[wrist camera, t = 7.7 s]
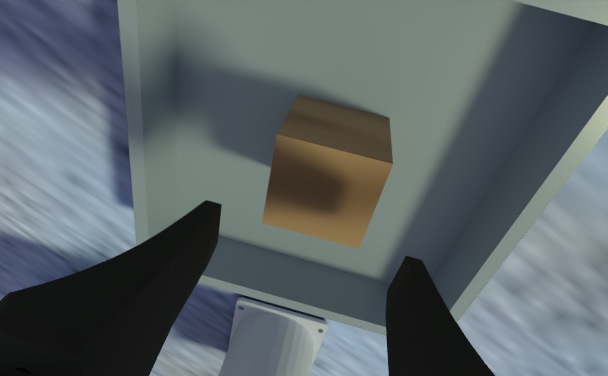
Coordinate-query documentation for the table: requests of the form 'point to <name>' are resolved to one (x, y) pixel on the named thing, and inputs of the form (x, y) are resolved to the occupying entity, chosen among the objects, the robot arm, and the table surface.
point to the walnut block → (328, 171)
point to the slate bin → (374, 99)
